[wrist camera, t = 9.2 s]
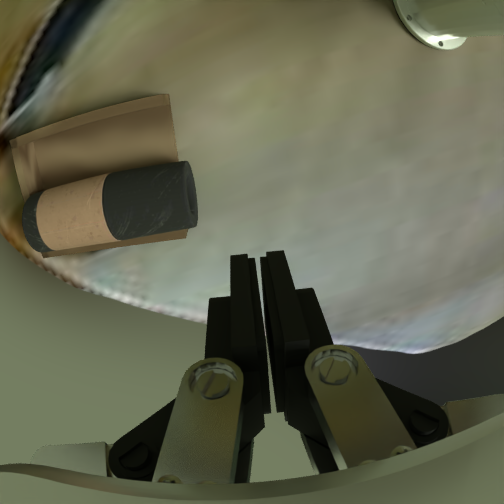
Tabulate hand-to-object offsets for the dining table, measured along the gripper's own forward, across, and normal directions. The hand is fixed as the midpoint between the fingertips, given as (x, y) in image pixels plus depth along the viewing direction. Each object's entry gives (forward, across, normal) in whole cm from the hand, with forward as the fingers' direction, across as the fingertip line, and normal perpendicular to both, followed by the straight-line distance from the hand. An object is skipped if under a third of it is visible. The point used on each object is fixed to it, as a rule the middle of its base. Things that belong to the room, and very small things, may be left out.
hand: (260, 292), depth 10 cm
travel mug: (+23, +5, +4) cm, 24 cm away
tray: (+27, +17, +1) cm, 32 cm away
